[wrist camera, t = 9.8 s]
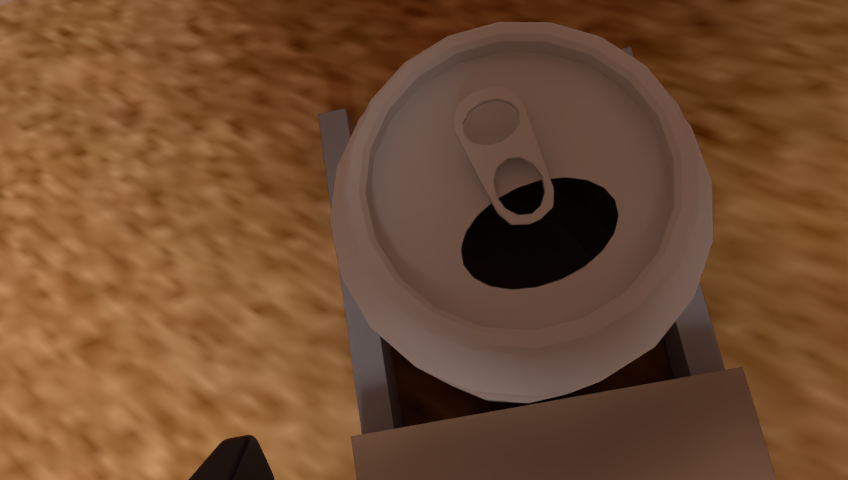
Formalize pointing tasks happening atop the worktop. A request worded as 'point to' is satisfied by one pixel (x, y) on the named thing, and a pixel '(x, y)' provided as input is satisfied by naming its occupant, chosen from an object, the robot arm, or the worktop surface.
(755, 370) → the worktop surface
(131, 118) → the worktop surface
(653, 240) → the can
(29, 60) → the worktop surface
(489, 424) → the stop block
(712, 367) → the guide rails
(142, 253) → the worktop surface
